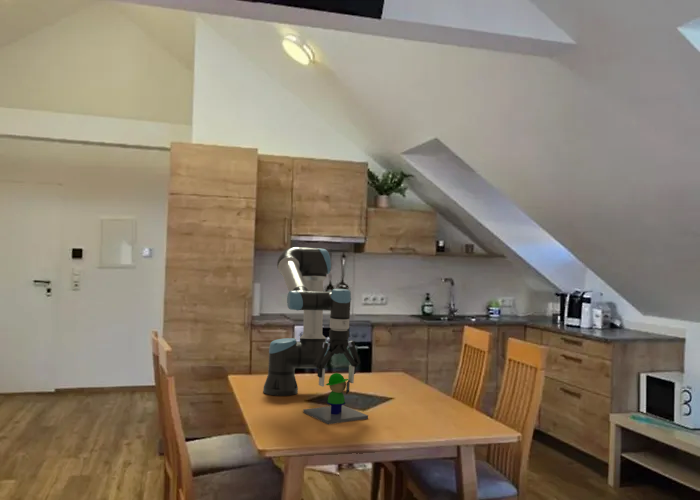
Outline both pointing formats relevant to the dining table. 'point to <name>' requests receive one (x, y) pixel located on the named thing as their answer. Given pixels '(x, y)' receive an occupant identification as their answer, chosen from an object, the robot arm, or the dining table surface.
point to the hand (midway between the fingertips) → (336, 384)
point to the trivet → (335, 415)
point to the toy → (337, 392)
